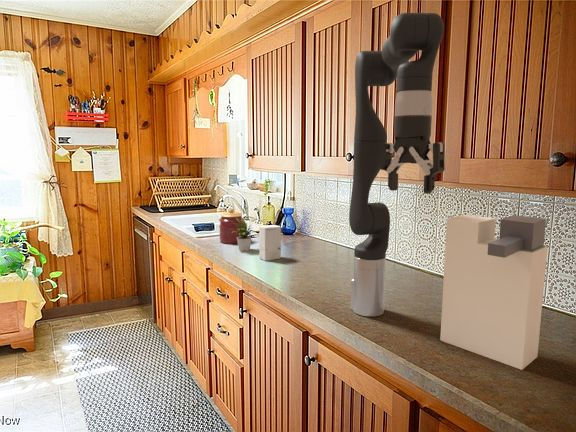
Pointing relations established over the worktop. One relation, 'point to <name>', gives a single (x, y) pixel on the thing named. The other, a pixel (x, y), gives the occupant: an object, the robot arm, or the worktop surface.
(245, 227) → the house plant
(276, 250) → the skincare box
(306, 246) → the worktop surface
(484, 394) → the worktop surface
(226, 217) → the canister
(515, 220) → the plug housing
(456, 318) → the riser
